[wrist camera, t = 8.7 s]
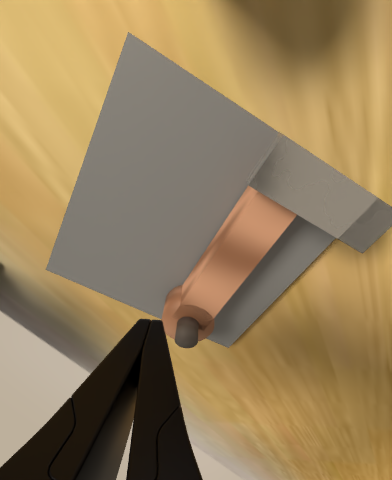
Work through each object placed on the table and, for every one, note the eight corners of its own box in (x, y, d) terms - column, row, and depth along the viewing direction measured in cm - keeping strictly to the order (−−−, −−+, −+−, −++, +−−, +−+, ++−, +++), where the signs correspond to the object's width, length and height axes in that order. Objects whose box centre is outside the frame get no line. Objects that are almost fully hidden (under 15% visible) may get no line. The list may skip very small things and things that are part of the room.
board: (227, 339, 28) (228, 347, 27) (51, 263, 24) (45, 269, 23) (368, 192, 20) (375, 197, 19) (132, 35, 16) (128, 32, 15)
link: (199, 326, 26) (197, 365, 22) (157, 309, 25) (149, 346, 21) (327, 163, 18) (357, 182, 14) (272, 129, 17) (289, 140, 13)
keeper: (334, 223, 20) (362, 253, 16) (240, 166, 18) (248, 185, 14) (365, 190, 19) (403, 214, 15) (267, 124, 17) (283, 134, 13)
